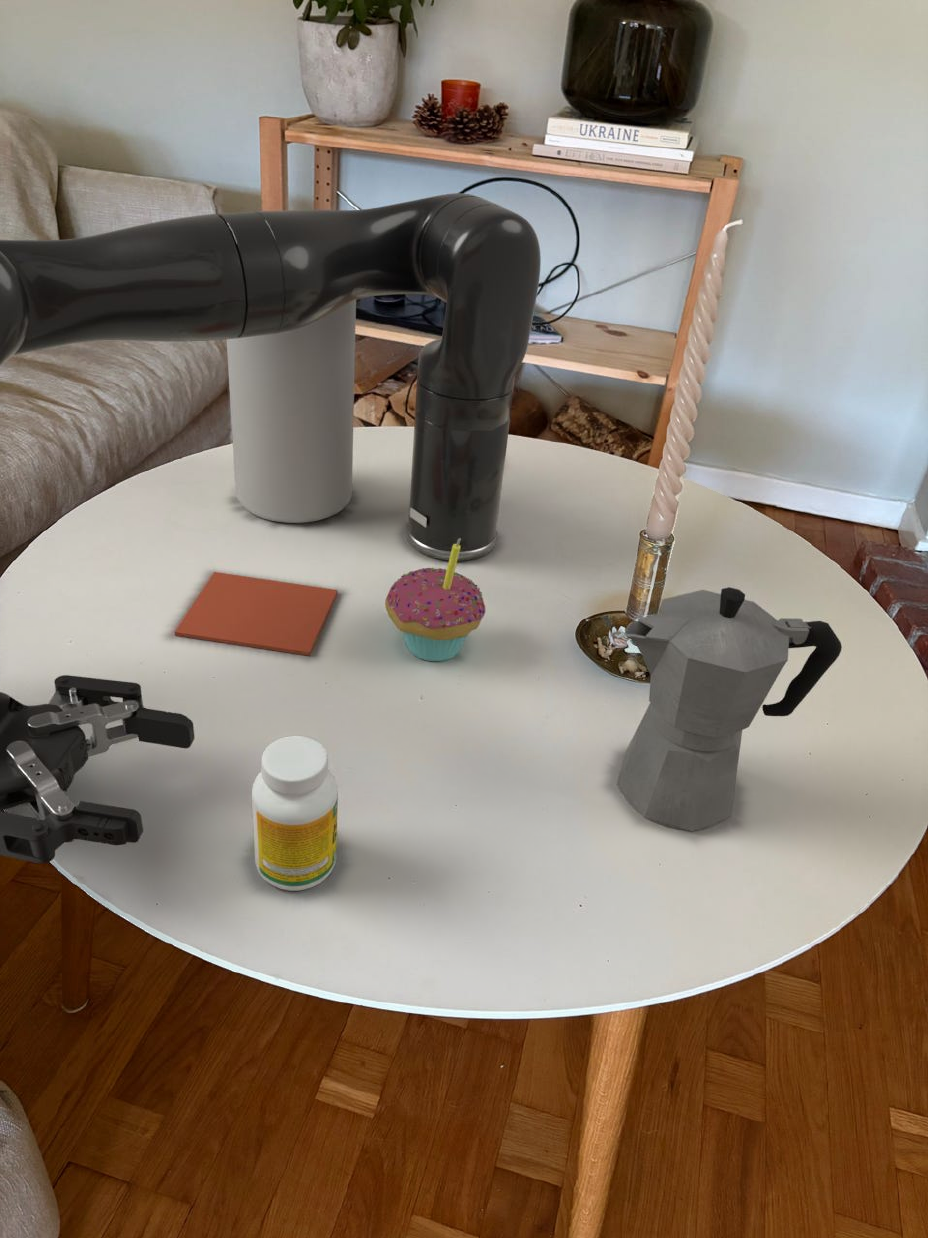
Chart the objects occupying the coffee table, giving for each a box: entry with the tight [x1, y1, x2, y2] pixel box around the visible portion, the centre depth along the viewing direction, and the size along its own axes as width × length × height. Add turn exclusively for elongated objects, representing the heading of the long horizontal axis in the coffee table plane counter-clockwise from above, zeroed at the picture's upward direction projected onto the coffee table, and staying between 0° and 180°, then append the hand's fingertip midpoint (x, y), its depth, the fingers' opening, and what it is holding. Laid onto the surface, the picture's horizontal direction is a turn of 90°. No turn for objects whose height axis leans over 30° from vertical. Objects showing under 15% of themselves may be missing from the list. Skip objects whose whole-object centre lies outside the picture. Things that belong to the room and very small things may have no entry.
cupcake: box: [384, 538, 487, 662], centre depth 82 cm, size 9×8×12 cm
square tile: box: [174, 571, 338, 657], centre depth 87 cm, size 10×12×1 cm
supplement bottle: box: [251, 735, 339, 892], centre depth 61 cm, size 5×5×10 cm
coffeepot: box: [616, 586, 843, 832], centre depth 68 cm, size 15×9×18 cm, turn 95°
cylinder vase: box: [226, 300, 357, 524], centre depth 98 cm, size 12×12×25 cm
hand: (167, 777), depth 61 cm, fingers open, 8 cm apart
